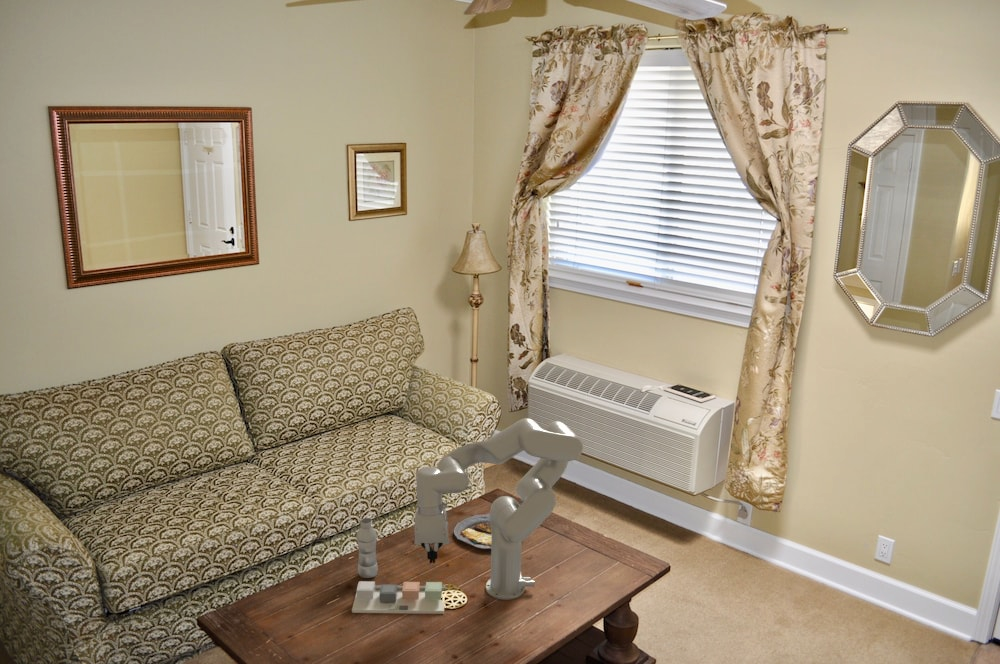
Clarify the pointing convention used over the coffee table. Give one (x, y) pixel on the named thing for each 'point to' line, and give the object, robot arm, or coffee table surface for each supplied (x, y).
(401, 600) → the keyboard base
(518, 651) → the coffee table surface
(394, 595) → the key charcoal
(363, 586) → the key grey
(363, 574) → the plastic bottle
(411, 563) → the coffee table surface
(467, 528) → the food plate
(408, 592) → the key terracotta
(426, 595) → the key sage
